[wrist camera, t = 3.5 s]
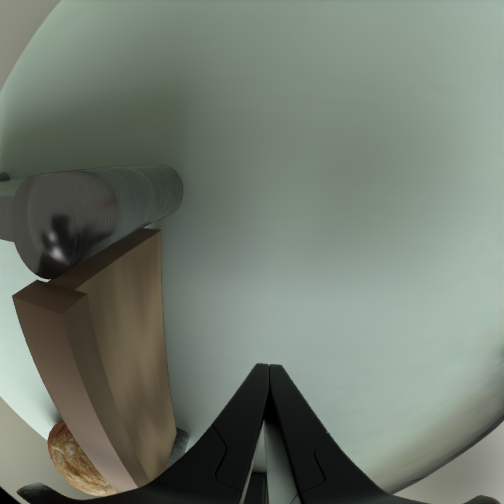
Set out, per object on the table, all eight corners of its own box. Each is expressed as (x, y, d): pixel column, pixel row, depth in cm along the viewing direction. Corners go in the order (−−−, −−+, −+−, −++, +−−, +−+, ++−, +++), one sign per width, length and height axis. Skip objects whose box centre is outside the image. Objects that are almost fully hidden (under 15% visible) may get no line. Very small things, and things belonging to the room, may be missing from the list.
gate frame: (189, 444, 16) (169, 518, 10) (47, 392, 17) (11, 440, 10) (184, 165, 10) (71, 173, 4) (-4, 173, 11) (-83, 192, 4)
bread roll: (146, 452, 24) (157, 504, 17) (79, 460, 21) (79, 508, 13) (108, 400, 21) (108, 463, 14) (34, 410, 18) (21, 464, 10)
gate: (182, 434, 15) (158, 514, 8) (157, 428, 15) (128, 505, 9) (170, 231, 11) (62, 314, 4) (131, 227, 11) (12, 296, 4)
